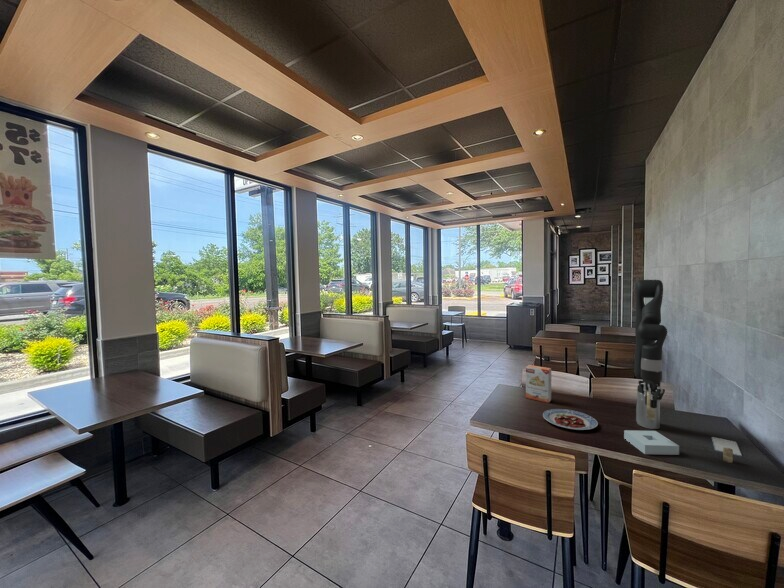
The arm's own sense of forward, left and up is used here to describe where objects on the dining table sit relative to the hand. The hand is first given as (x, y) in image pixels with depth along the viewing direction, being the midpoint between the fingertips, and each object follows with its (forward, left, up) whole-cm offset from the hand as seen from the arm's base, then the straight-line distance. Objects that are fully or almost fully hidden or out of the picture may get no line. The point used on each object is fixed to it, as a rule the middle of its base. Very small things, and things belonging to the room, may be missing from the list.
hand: (650, 406), depth 147 cm
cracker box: (-58, -28, -19) cm, 67 cm away
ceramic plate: (-25, -24, -19) cm, 39 cm away
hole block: (0, 0, -18) cm, 18 cm away
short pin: (+11, +23, -18) cm, 31 cm away
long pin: (0, 0, -6) cm, 6 cm away
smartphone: (-1, +33, -19) cm, 38 cm away
